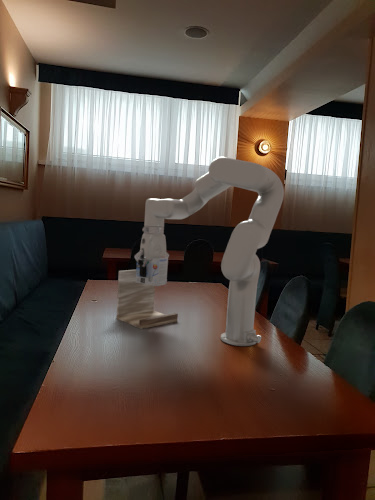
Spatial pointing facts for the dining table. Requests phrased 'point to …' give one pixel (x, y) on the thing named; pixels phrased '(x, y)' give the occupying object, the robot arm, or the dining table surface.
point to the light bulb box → (154, 272)
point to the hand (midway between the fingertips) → (151, 275)
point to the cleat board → (138, 303)
